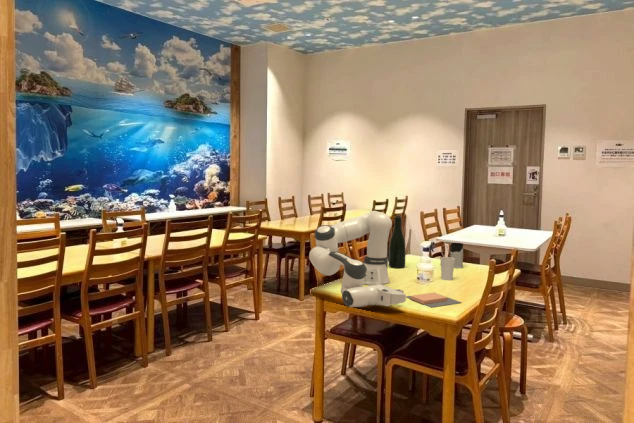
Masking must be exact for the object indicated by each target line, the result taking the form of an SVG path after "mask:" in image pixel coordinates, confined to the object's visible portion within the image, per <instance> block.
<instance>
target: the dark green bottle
mask: <svg viewBox="0 0 634 423" xmlns="http://www.w3.org/2000/svg"><path fill="white" fill-rule="evenodd" d="M393 220H394V226H393V232H392V234H391V236H390V239H389V243H388V244H389V245H388V246H389V247H388V248H389V249H388V267H389V268H391V269H404V268H405V267H406V239H405V237H404V236H405V235H404V233H403V228H402V220H403V219H402V216H401V215H400V214H395V217H394V219H393Z"/></svg>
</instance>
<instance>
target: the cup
mask: <svg viewBox="0 0 634 423" xmlns="http://www.w3.org/2000/svg"><path fill="white" fill-rule="evenodd" d="M454 262H455V258H451V257H450V256H444V257H443V256H442V257H440V271H441V272H440V274H441V275H440V276H441V278H440V279H441V280H443V281H453V280H454V278H453V277H454V269H455V268H454Z"/></svg>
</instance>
